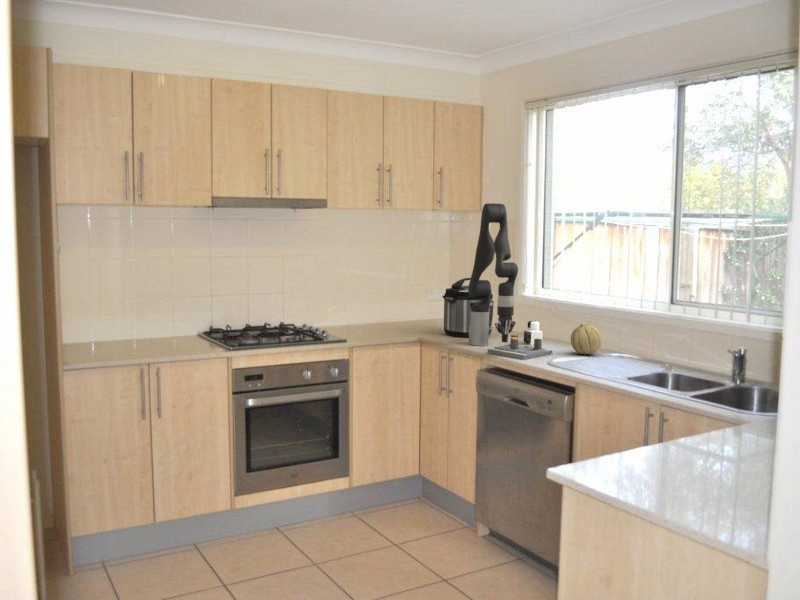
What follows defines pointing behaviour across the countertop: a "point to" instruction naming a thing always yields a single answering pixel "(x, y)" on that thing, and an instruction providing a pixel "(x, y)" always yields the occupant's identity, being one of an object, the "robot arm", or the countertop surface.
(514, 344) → the post
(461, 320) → the pressure cooker
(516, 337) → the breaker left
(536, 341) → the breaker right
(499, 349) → the panel
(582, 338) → the cantaloupe
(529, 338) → the medicine bottle
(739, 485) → the countertop surface
